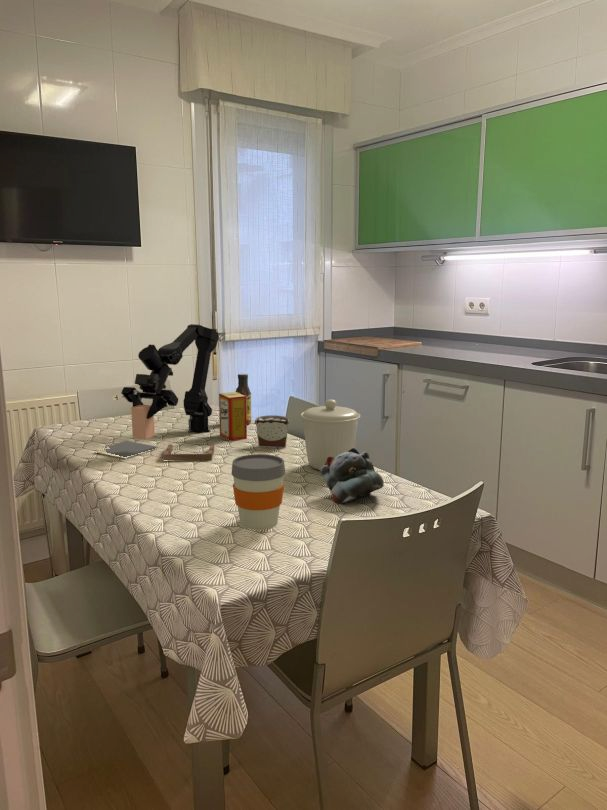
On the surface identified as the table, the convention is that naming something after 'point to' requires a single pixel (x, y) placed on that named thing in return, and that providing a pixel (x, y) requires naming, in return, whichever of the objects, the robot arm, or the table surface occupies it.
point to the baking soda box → (233, 416)
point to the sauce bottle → (245, 393)
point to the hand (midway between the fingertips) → (140, 417)
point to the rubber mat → (128, 448)
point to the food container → (272, 431)
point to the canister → (328, 431)
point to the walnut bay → (188, 455)
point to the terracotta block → (142, 422)
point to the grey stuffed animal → (350, 476)
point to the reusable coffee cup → (258, 489)
